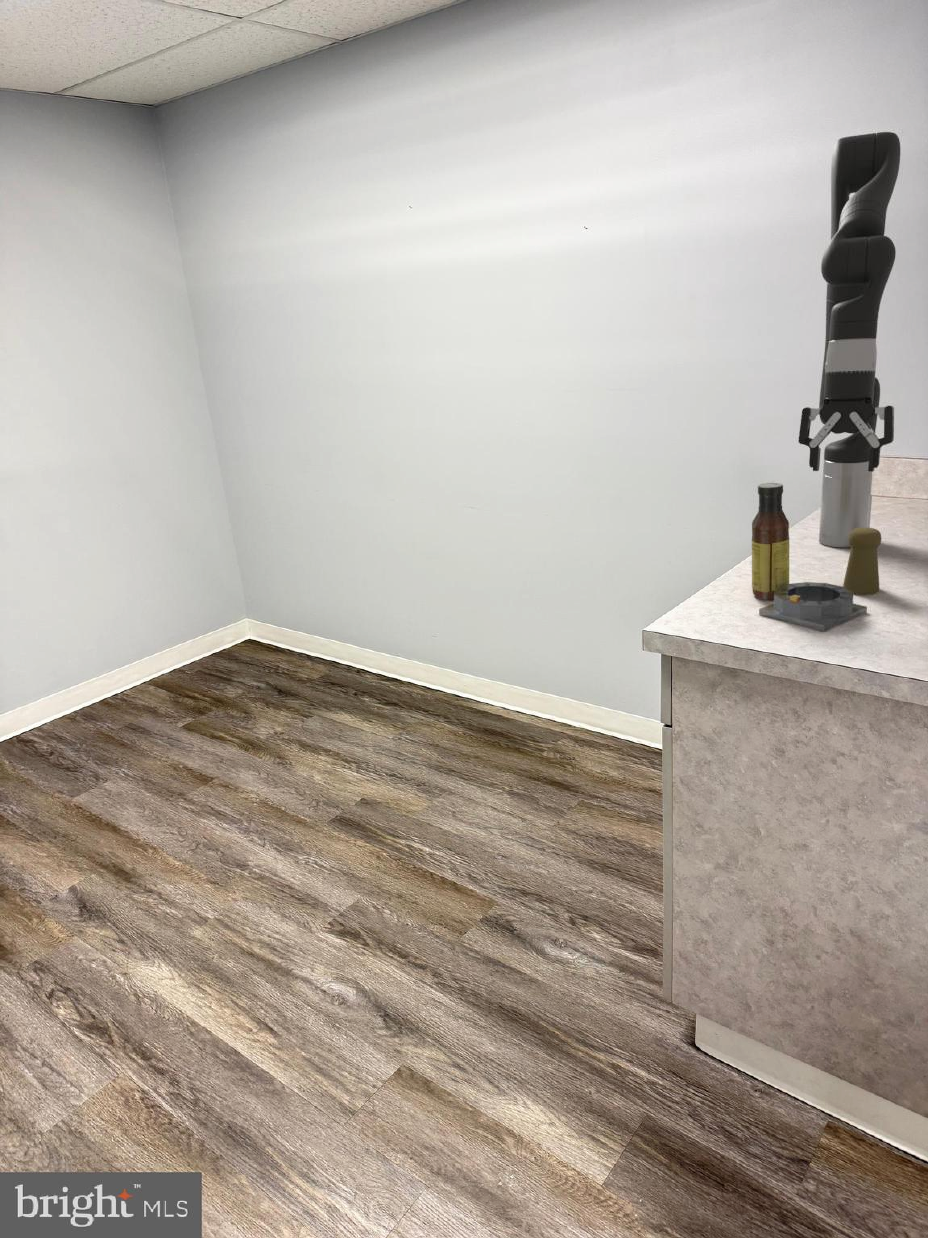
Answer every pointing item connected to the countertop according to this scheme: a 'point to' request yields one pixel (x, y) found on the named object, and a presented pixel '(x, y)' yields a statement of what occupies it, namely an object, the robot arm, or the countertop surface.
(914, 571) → the countertop surface
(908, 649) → the countertop surface
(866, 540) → the cork
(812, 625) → the hub
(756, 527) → the sauce bottle
